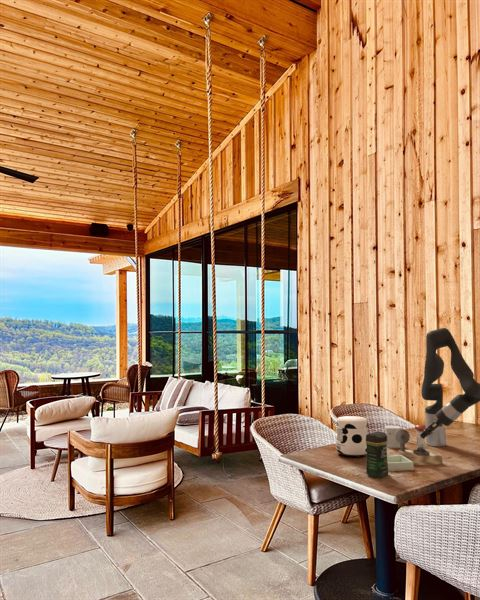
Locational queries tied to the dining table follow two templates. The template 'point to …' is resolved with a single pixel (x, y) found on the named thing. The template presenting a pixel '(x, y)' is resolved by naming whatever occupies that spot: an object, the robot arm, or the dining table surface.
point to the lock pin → (420, 438)
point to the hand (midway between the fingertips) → (424, 435)
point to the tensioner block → (413, 455)
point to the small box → (392, 436)
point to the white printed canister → (352, 436)
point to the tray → (399, 463)
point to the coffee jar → (376, 454)
